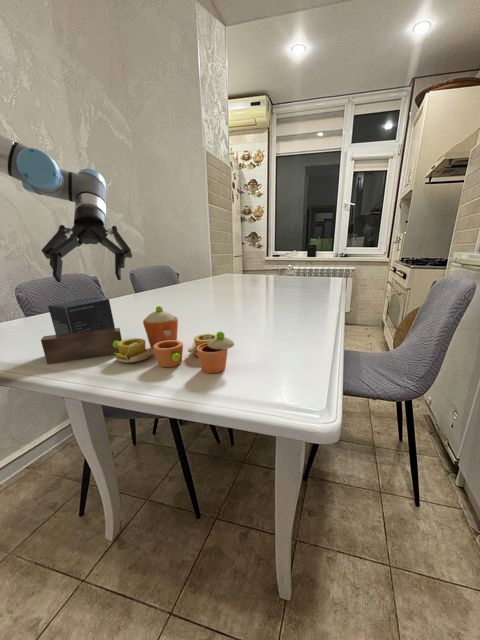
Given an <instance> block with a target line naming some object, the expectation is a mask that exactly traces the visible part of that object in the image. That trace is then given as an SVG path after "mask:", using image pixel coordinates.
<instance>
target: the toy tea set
mask: <svg viewBox="0 0 480 640" xmlns="http://www.w3.org/2000/svg"><path fill="white" fill-rule="evenodd" d="M142 323H143V327H144V331H145V333H146V337H147V341H148V344H149V346H150V347H149V348H146V340H145V339H143V338H125V339H122V341H120V342H119V341H114V342H113V347H114V348H118V349H119V352H120V353H114V355H115V359H116V361H118V362H120V363H136V362H141V361H144V360H146V359H147V358H149V357H150V356H151V355H153V354H154V355H155V358H156V361H157V364H158V366H160V367H162V368H173V367H177V366H179V365H180V364H182V361H183V351H184V343H183V341H181V340H178V330H179V329H178V327H179V318H178V317H177V316H175V315H173V314H172V313H170V312H169V311H166V310H164V308H163V306H161V305H157V306H156V307H155V311H152V312H151V313H149V314H148V315H147V316H146V317H145V318H144V319H143V320H142ZM234 346H235V342H234V340H232V339H230V338H229V337H225V333H224V332H223V331H217V333H216V334H213V333H210V332H208V333H203V334H198V335H196V336H195V337H193V343H192V345H191V347H188V348H187V352H188V353H191V354H193V355H194V356H197V357H198V362H199V364H200V365H199V366H200V369H201V370H202V371H203V372H204V373H207V374H217V373H221V372H223V371H224V370H225V369H226V366H227V360H228V350H229V349H231V348H233V347H234Z"/></svg>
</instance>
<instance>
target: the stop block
mask: <svg viewBox="0 0 480 640" xmlns="http://www.w3.org/2000/svg"><path fill="white" fill-rule="evenodd" d="M122 340H123V337H122V332H121V328H120V327H115V328H114V329H105V330H96V331H87V332H77V333H68V334H59V335H56V334H50V335H43V337H42V338H41V340H40V342H41V346H42V350H43V353H44V358H45V361H46V364H47V365H49V364H50V365H51V364H56V363H64V362H70V361H76V360H77V361H78V360H85V359H92V358H99V357H106V356H112V355H115V354H114V353H120V352H119V349H118V348H114V347H113V342H114V341H119V342H120V341H122Z"/></svg>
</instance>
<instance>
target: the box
mask: <svg viewBox="0 0 480 640" xmlns="http://www.w3.org/2000/svg"><path fill="white" fill-rule="evenodd" d="M47 307H48V311H49V314H50V318H51V322H52V326H53V329H54V333H55V335H59V334H68V333H77V332H87V331H96V330H105V329H114V328H116V326H115V321H114V317H113V312H112V307H111V303H110V298H102V297H91V296H90V297H87V298H82V299H76V300H69V301H65V302H59V303H53V304H48V305H47Z"/></svg>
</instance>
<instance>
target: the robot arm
mask: <svg viewBox="0 0 480 640" xmlns="http://www.w3.org/2000/svg"><path fill="white" fill-rule="evenodd" d="M0 173H2V174H5V175H7V176H9V177H11V178H13V179H16V180H18V181H20V182H21V185H22V187H23V189H24V190H25V191H27V192H30V193H34V194H37V195H39V196H46V197H51V198H54V199H60V200H64V201H69V202H72V203H75V204H74V214H73V225H72V227H66V226H65V225H64V224H60V225H59V226H58V230H57V231H56V233H55V234H54V235H53V236H52V237H51V239H49V240H48V241H47V243H46V244H45V245H44V247H42V248H41V252H42V254H43V255H44V257H45V258H46V259H47V260H49V266H50V267H51V269H52V276H53V278H54V279H55V281H56V283H62V273H63V260H62V258H64V257H66V255H68V254H69V253H70V252H72V251H73V250H74V249H75V248H77V247H80V246H82V245H83V244H84V245H98V244H100V245H102V247H105V248H106V249H108V250H109V251H110V252H111V253H113V254H114V266H115V267H114V274H115V277H116V280H117V281H121V280H122V269H125V268H126V259H127V258H128V259H131V258H133V252H132V249H131V247H129V245H128V244H127V242H126V241H125V240H124V238H123V236H121V234H120V233H119V230H118V226H116V225H112V226H111V228H107V193H108V192H107V191H108V190H107V184H106V180H105V178H104V177H103V176H102V174H101V173H100V172H98V171H97V170H94V169H92V168H82V169H80V170H79V171H78V172H77V173H76V172H74V171H73V172H72V171H68V170H65V169H62V168H60V167H59V165H58V164H57V162H56V161H55V159H54V158H52V157H51V156H50V155H49V154H48V153H46V152H45V151H43V150H42V149H38V148H33V147H29V146H27V145H25V144H22V143H20V142H18V141H16V140H14V139H12V138H10V137H8V136H6V135H4V134H1V133H0ZM108 235H109V236H111V237H112V238H113V239H114V240H115V242H116V243H117V244H115V243H114V242H113V241H112V240H111V239H109V238H108Z"/></svg>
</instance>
